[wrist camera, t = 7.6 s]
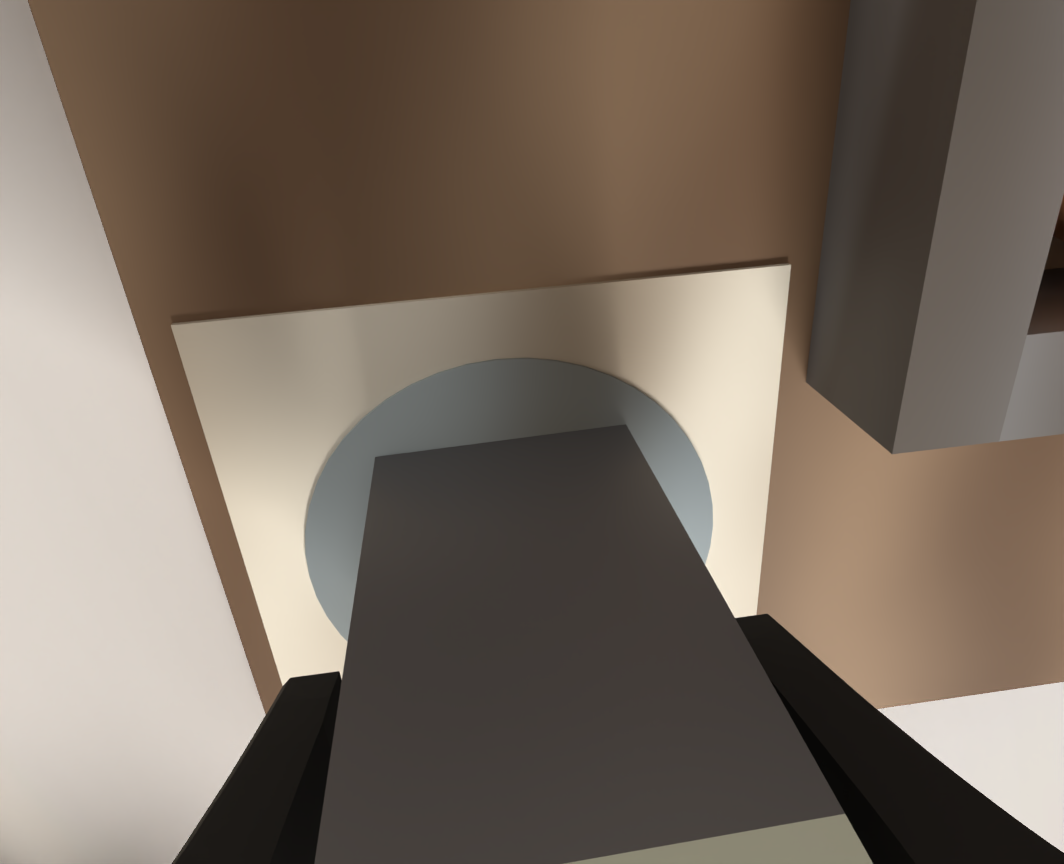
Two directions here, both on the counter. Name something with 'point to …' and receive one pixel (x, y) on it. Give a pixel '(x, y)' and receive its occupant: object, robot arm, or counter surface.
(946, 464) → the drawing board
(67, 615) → the counter surface
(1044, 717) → the counter surface
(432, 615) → the grey rectangular block
